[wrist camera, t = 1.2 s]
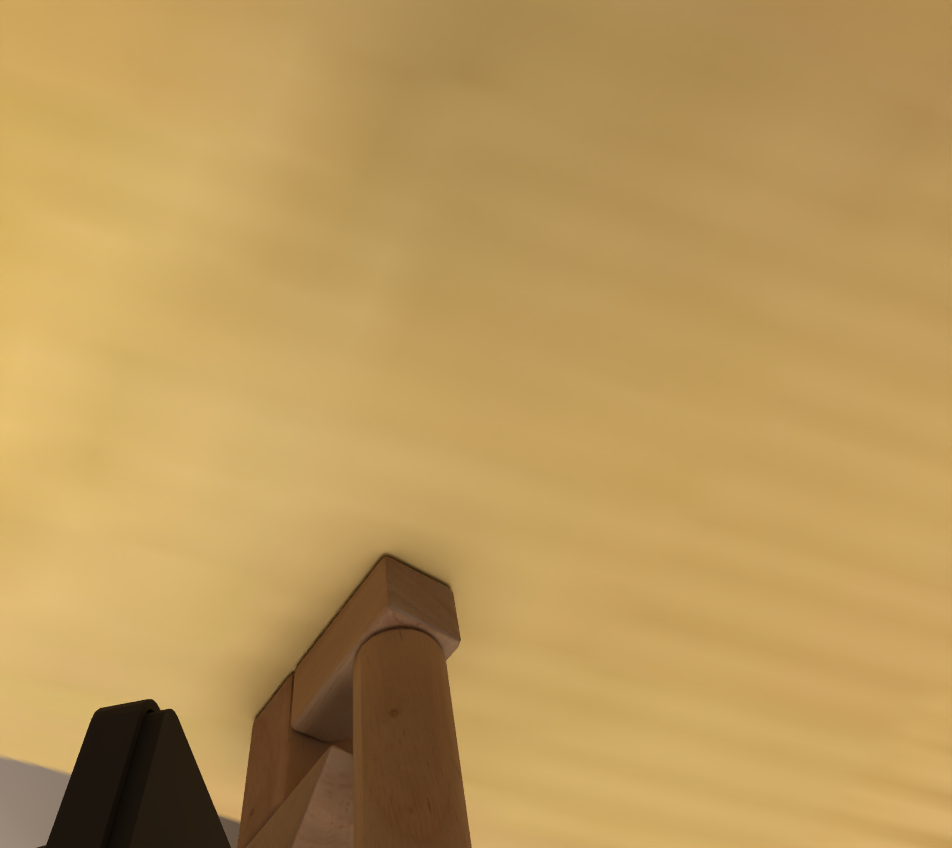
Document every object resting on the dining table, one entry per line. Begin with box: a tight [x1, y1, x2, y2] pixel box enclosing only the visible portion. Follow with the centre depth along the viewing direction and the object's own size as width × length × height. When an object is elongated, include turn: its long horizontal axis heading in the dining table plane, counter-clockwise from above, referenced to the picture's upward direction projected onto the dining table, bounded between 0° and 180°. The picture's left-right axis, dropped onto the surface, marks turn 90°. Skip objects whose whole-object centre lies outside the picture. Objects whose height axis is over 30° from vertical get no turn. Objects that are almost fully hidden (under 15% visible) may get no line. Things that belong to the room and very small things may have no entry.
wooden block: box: [237, 557, 472, 848], centre depth 32 cm, size 4×11×18 cm, turn 144°
